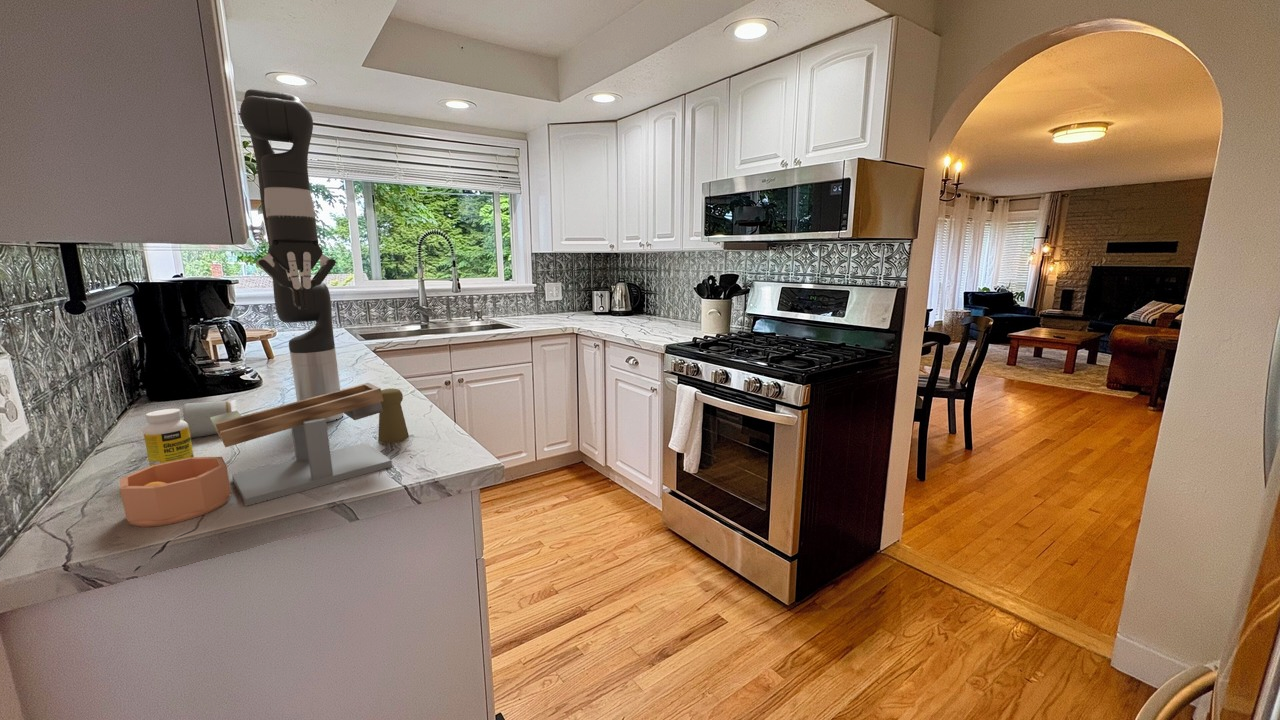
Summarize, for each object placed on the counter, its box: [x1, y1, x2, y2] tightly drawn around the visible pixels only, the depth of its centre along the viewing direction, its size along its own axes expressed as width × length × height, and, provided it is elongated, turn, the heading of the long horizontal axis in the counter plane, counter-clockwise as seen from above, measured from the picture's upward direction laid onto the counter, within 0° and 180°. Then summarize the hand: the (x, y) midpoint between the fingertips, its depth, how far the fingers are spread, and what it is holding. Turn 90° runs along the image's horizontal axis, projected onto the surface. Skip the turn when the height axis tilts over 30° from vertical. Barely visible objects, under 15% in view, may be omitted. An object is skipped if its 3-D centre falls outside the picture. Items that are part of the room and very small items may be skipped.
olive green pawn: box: [377, 388, 410, 444], centre depth 110 cm, size 6×6×11 cm
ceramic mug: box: [182, 400, 233, 439], centre depth 116 cm, size 11×8×8 cm
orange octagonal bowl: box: [119, 456, 232, 528], centre depth 80 cm, size 12×12×6 cm
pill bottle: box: [143, 408, 195, 466], centre depth 95 cm, size 6×6×11 cm
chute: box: [210, 382, 383, 448], centre depth 94 cm, size 24×18×4 cm
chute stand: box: [231, 418, 393, 506], centre depth 92 cm, size 22×14×11 cm, turn 135°
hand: (303, 308), depth 98 cm, fingers closed
